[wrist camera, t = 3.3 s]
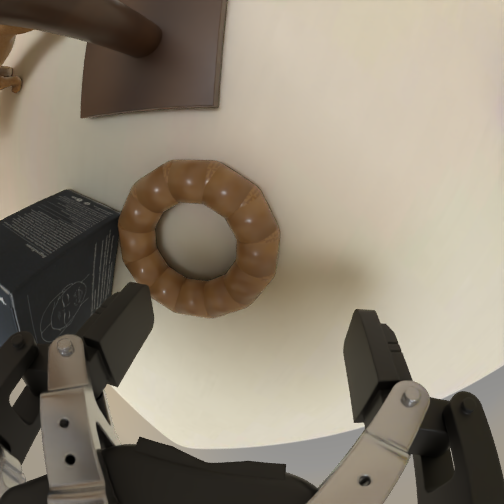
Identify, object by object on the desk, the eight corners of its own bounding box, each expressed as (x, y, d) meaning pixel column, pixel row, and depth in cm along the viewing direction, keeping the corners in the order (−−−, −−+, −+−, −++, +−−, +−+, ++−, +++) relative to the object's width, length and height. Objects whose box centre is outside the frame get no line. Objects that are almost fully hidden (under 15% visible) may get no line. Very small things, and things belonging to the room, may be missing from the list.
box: (67, 187, 17) (-45, 243, 8) (125, 212, 17) (11, 295, 8) (62, 270, 20) (-17, 342, 11) (112, 298, 21) (39, 390, 11)
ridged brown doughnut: (139, 292, 20) (125, 310, 18) (126, 158, 16) (105, 164, 14) (271, 310, 19) (268, 333, 17) (286, 163, 15) (286, 168, 13)
